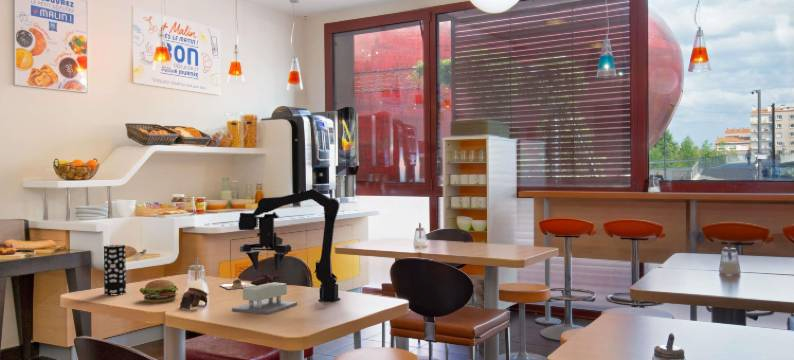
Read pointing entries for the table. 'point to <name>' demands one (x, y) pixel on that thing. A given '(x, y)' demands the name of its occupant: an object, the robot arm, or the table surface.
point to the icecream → (265, 279)
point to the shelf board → (264, 291)
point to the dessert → (237, 284)
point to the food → (159, 291)
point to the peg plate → (265, 306)
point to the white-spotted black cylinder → (114, 269)
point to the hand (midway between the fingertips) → (267, 270)
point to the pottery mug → (193, 298)
